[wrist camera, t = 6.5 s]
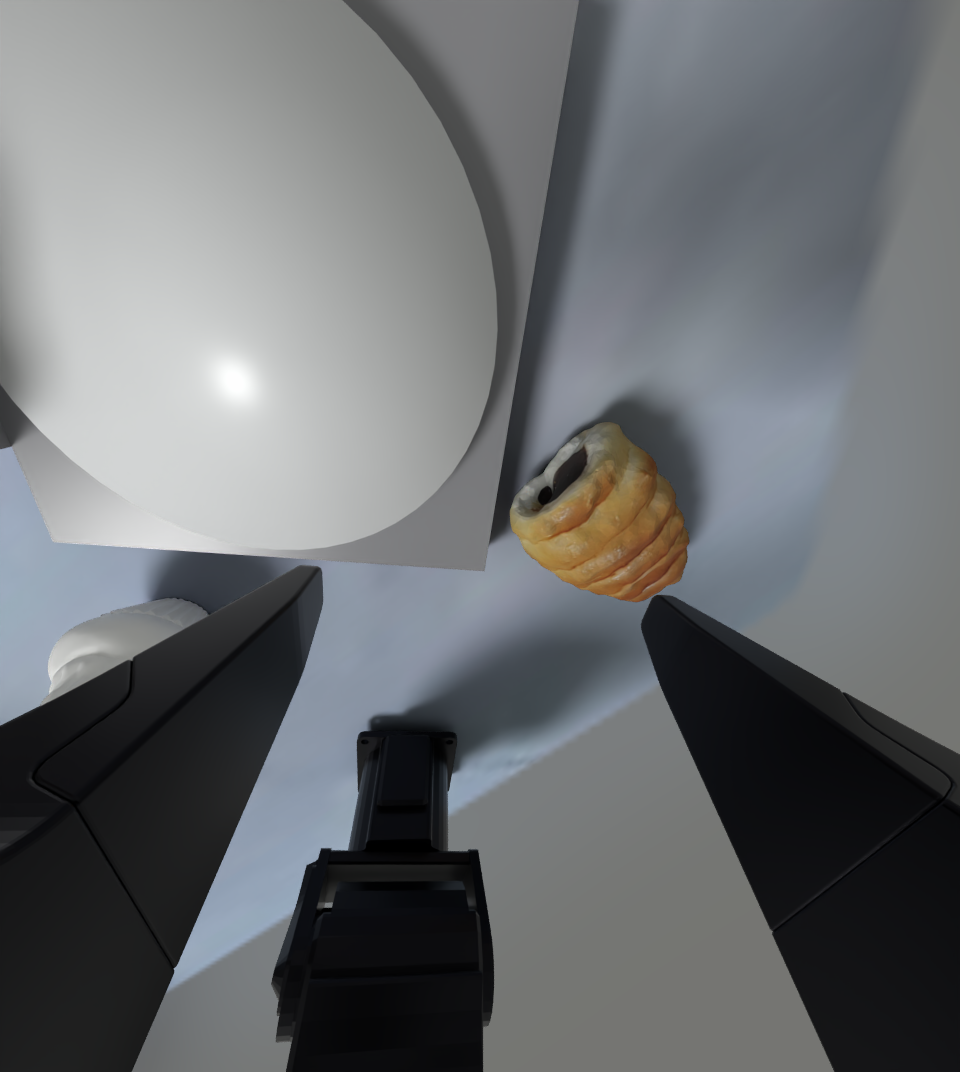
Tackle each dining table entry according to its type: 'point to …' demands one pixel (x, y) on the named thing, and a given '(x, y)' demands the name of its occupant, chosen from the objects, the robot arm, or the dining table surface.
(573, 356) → the dining table surface
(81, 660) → the garlic bulb
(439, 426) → the scale
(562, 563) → the pastry
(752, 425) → the dining table surface
